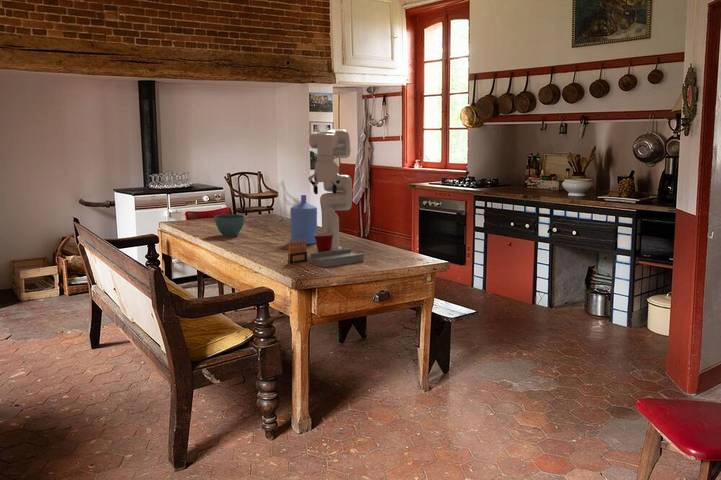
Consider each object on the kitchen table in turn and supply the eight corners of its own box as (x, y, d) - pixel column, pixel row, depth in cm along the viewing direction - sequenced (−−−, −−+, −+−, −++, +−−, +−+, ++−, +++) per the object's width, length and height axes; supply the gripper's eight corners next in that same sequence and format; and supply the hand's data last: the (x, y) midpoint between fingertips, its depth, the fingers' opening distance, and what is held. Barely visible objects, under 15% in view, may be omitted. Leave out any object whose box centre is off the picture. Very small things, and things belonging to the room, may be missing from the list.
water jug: (313, 245, 379) (313, 197, 375) (287, 244, 382) (286, 196, 378) (320, 240, 394) (320, 194, 390) (295, 239, 398) (294, 193, 393)
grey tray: (311, 263, 328) (310, 253, 328) (349, 257, 343) (349, 248, 342) (324, 267, 319) (324, 257, 318) (363, 261, 334) (363, 251, 333)
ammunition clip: (289, 264, 327) (289, 240, 325) (287, 263, 328) (287, 239, 326) (307, 261, 333) (307, 238, 331) (305, 261, 335) (305, 237, 333)
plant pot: (248, 233, 420) (247, 214, 418) (240, 238, 402) (239, 218, 400) (220, 233, 422) (219, 214, 420) (211, 237, 404) (210, 218, 402)
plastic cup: (323, 252, 356) (323, 231, 354) (338, 255, 350) (338, 233, 348) (309, 255, 348) (309, 233, 346) (324, 258, 341) (324, 235, 339)
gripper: (338, 158, 331) (338, 192, 334) (305, 159, 325) (306, 193, 327) (344, 159, 325) (344, 193, 327) (311, 159, 318) (311, 194, 320)
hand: (325, 193), depth 327 cm, fingers open, 9 cm apart
